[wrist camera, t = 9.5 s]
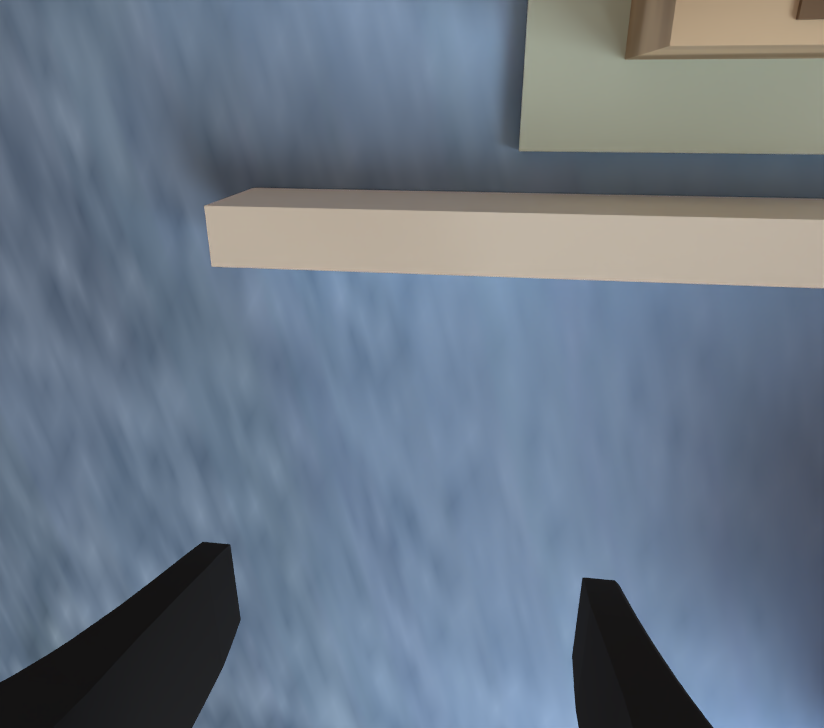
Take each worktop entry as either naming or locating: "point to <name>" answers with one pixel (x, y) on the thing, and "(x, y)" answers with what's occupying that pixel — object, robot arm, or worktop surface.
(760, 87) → the pad
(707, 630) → the worktop surface
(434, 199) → the cream board
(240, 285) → the worktop surface
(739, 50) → the lettered cube
